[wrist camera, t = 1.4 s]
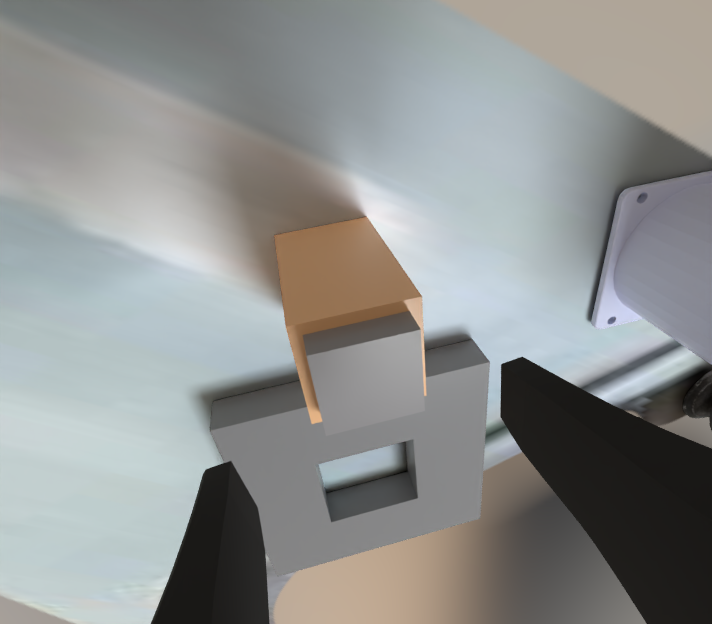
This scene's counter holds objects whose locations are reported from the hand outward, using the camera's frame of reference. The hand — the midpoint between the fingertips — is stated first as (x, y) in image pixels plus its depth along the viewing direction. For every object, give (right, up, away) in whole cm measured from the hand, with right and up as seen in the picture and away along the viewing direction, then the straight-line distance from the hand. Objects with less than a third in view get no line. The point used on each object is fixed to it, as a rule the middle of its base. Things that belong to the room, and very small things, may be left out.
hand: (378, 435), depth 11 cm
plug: (-2, +5, +8) cm, 10 cm away
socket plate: (0, -6, +15) cm, 16 cm away
